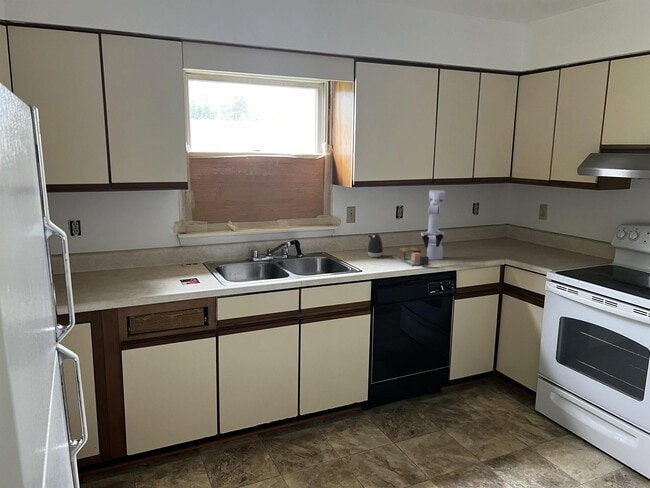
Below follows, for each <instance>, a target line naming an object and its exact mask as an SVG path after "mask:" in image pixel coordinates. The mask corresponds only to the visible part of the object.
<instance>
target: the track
mask: <svg viewBox="0 0 650 488" xmlns="http://www.w3.org/2000/svg"><path fill="white" fill-rule="evenodd" d="M392 258H394V259H396V260H398V261H400V262H403V263H404V264H407V265H409V266H412V267H419V266H420V267H421V266H422V265H420V264H419V263H413V262H411V261H409V260H408V259H411V258H412V254H410V253H409V254H407V253H406V255H405V260H402V259H400V258H398V254H394V255H393V256H392ZM430 265H431V264H430V263H429V262H428V265H427V266H430Z"/></svg>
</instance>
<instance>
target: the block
mask: <svg viewBox="0 0 650 488" xmlns="http://www.w3.org/2000/svg"><path fill="white" fill-rule="evenodd" d="M411 255H412V258H411V259H412V260H414V261H418V260H420V256H422V253H421V254H420V253H413V252H412V253H411Z"/></svg>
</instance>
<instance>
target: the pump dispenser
mask: <svg viewBox="0 0 650 488" xmlns="http://www.w3.org/2000/svg"><path fill="white" fill-rule="evenodd" d="M367 237H368V238H369V241H368V244H367V248H366V249H367V250H366V251H367V254H368V256H370V257H371V258H375V259H376V258H380V257H381V256H382V255H383V253H384V246H383V245H384V244H383V241H382V238H381V235H380V234H378V233H375V232H374V233H373V234H372V235H370V234H368V236H367Z"/></svg>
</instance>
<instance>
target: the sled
mask: <svg viewBox="0 0 650 488" xmlns="http://www.w3.org/2000/svg"><path fill="white" fill-rule="evenodd" d="M428 258H429V257H428V256H427V255H421V256H420V260H418V261H414V260H412V259H408V260H409V261H411V262H413V263H419V264H420V265H421V266H429V265H428V263H429V259H428Z"/></svg>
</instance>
